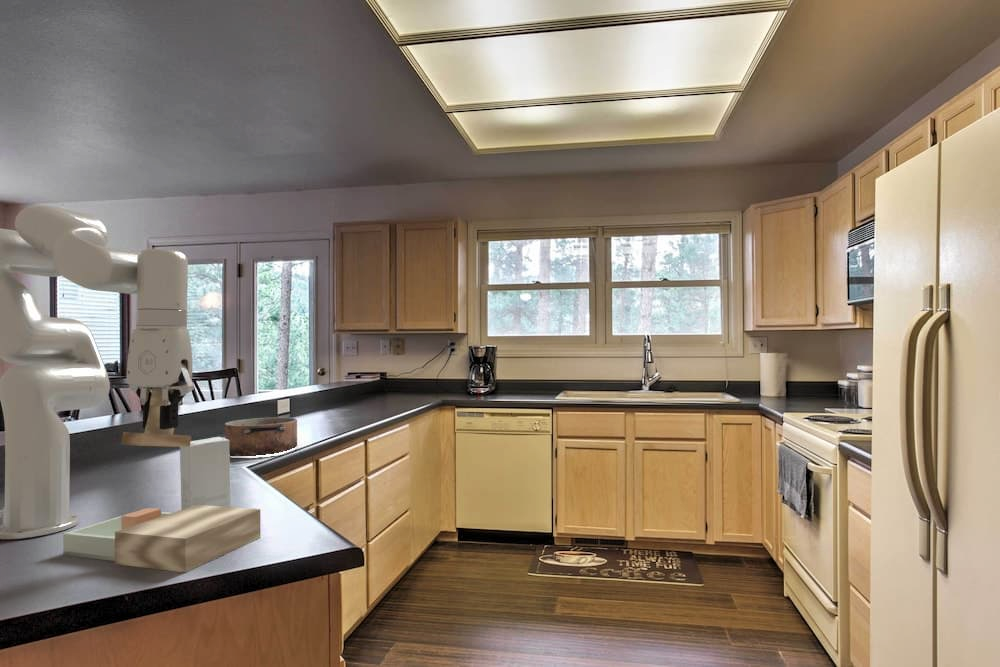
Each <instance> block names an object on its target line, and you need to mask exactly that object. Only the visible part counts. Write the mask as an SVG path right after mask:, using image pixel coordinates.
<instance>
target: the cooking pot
mask: <svg viewBox="0 0 1000 667" xmlns="http://www.w3.org/2000/svg"><path fill="white" fill-rule="evenodd" d="M224 438H225V439H228V440H229V455H230V456H256V455H266V454H274V453H279V452H283V451H287V450H290V449H292V448H295V447H296V446H297V447H298V419H297V418H295V417H259V418H258V417H257V418H248V419H247V418H246V419H237V420H231V421H228V422H225V423H224Z"/></svg>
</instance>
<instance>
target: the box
mask: <svg viewBox="0 0 1000 667" xmlns="http://www.w3.org/2000/svg"><path fill="white" fill-rule="evenodd" d="M133 512H134V511H133ZM133 512H132V511H131V512H130V513H133ZM130 513H128V514H130ZM171 513H172V512H170V511H169V512H167V511H161V517H162V516H165V515H168V514H171ZM121 516H122V515H119V516H117V517H113V518H110V519H107V520H104V521H100V522H97V523H93V524H90V525H87V526H84V527H80V528H78V529H74V530H70V531H68V532H65V533H63V537H62V540H63V543H62V544H63V546H62V554H63V556H68V557H76V558H77V557H79V558H85V559H94V560H102V561H103V560H104V561H111V562H115V532H116V531H119V530H121Z"/></svg>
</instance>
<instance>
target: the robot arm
mask: <svg viewBox="0 0 1000 667" xmlns="http://www.w3.org/2000/svg"><path fill="white" fill-rule="evenodd" d="M14 227H15V229H16V230H13V229H7V228H0V359H1V360H3V361H4V362H6V363H10V364H17V366H14V367H12V368H10V369H8V370H7V371H6V372H4V374H3V375H2V376H1V377H0V405H1V409H2V414H3V415H2V416H3V421H4V435H5V436H4V437H5V439H4V441H5V442H4V445H5V446H4V452H5V456H4V457H5V458H4V459H5V460H4V463H5V465H4V507H2V509H0V518H2V524H1V525H0V540H20V539H21V540H22V539H28V538H36V537H40V536H45V535H50V534H55V533H58V532H61V531H65V530H68V529H71V528H73V527H74V526H76V525H78V524H79V522H80V516H79V515H77V514H75V513H74V514H73V513H70V477H71V476H70V473H71V472H70V471H71V470H70V466H71V465H70V463H71V462H70V457H71V455H70V453H71V450H70V449H71V447H70V446H71V444H70V442H71V441H70V440H71V439H70V438H71V436H70V431H69V429H68V427H67V426H66V424H65V423H64V421H63V420H62V419H61V418H60V417H59V415H58V414H57V413H58V412H65V411H76V410H83V409H85V410H86V409H92V408H95V407H99V406H100V405H102V404H104V402H105V401H106V400H107V399H108V397H109V394H110V386H111V384H110V378H109V375H108V371H107V368H106V366H105V364H104V361H103V358H102V354H101V353H100V351H99V347H98V345H97V343H96V340H95V338H94V335H93V333H92V331H91V329H90V328H89V327H88V326H87V325H86V324H85V323H84V322H82V321H80V320H77V319H74V318H67V317H55V316H54V317H52V316H51V317H50V316H46V315H45V314H43V313H42V312H41V310H40V306H39V305H38V302H37V299H36V296H35V295H34V294H33V292H32V291H31V290H30V289H29V288H28V287H27V286H26V285H25V284H24V283H22V282H21V281H20V280H18V279H17V278H16V277H14V276H13V275H12V274H22V275H31V276H38V277H39V276H40V277H47V278H49V277H50V278H53V277H54V278H56V277H63V278H65V279H66V280H68V281H70V282H71V283H73V284H75V285H77V286H80V287H82V288H84V289H87V290H92V291H100V292H110V293H117V294H118V293H119V294H120V293H121V294H127V295H136V308H135V310H136V316H135V325H136V327H135V328H134V329H133V330H132V332H131V337H130V341H129V345H128V351H127V352H128V353H127V363H126V383H127V385H128V388H129V390H131V391H132V392H133V393H135V395H137V397H138V398H139V404H140V405H142V429H145V427H146V424H147V418H148V413H149V407H150V400H151V395H152V389H153V387H162V396H163V404H164V405H163V406H160V429H170V428H174V429H175V428H178V427H179V405H181V404H182V402H183V399H184V397H186V395H187V394H189V393H191V392H192V391H193V390H195V385H194V383H193V381H192V379H193V369H194V368H193V352H192V342H191V336H190V331H189V329H188V285H189V284H188V282H189V281H188V277H189V276H188V274H189V268H188V267H189V262H188V258H187V256H186V254H185V253H183V252H182V251H179V250H174V249H168V248H167V249H165V248H147V249H142V250H141V251H140V252H136V251H132V250H131V251H129V250H125V249H121V248H120V249H119V248H115V247H113V248H112V247H108V246H107V243H108V238H109V236H108V231H107V228H106V225H105V224H104V223H103V222H102V221H101V220H100V219H98V218H97V217H95V216H93V215H91V214H88V213H83V212H78V211H74V210H69V209H64V208H60V207H56V206H55V207H54V206H50V205H40V204H39V205H32V206H28V207H26V208H24V209H22V210H21V211H20V212H19V213H18V214H17V215H16V217H15V221H14ZM11 273H12V274H11ZM18 364H21V365H18ZM173 383H174V386H171V385H172V384H173ZM170 390H173V392H172V393H171V394H170Z"/></svg>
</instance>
